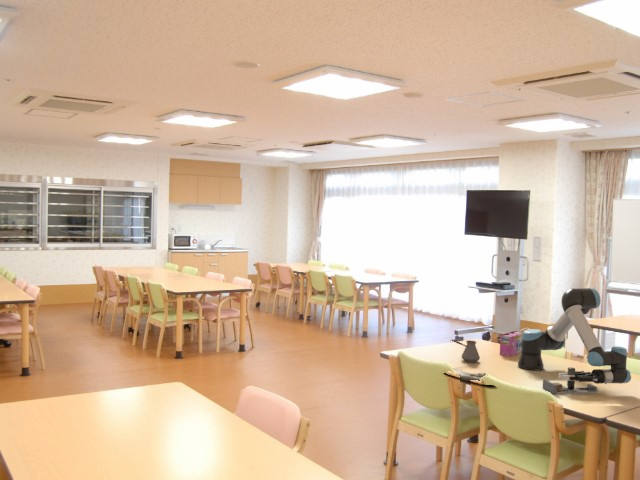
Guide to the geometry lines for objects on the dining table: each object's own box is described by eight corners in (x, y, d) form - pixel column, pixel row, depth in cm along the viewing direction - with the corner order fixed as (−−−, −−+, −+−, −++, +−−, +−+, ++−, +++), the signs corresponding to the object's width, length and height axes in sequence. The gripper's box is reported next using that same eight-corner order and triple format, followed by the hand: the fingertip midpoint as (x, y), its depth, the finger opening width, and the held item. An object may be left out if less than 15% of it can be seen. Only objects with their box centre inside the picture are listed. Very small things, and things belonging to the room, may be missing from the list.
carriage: (562, 392, 314) (563, 369, 313) (557, 389, 319) (558, 367, 318) (578, 391, 315) (579, 369, 315) (573, 389, 320) (574, 367, 320)
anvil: (553, 394, 310) (553, 385, 310) (542, 388, 321) (542, 380, 321) (556, 394, 310) (557, 385, 310) (546, 388, 321) (546, 380, 321)
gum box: (514, 349, 422) (515, 330, 421) (525, 351, 416) (526, 332, 416) (499, 354, 404) (500, 334, 404) (510, 356, 399) (511, 336, 398)
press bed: (553, 396, 310) (553, 388, 310) (542, 390, 321) (542, 382, 321) (599, 396, 314) (599, 388, 314) (586, 389, 325) (587, 382, 324)
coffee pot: (472, 358, 389) (473, 336, 389) (483, 363, 379) (484, 339, 378) (444, 360, 381) (445, 337, 381) (455, 365, 371) (456, 341, 370)
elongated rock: (450, 374, 355) (439, 377, 349) (450, 365, 355) (439, 368, 349) (500, 385, 328) (490, 388, 322) (500, 375, 328) (489, 379, 322)
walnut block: (555, 392, 314) (555, 384, 314) (551, 390, 318) (551, 382, 318) (562, 392, 314) (562, 384, 314) (558, 390, 318) (558, 382, 318)
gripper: (610, 387, 311) (569, 388, 308) (591, 378, 328) (552, 379, 324) (611, 373, 311) (570, 374, 308) (592, 365, 328) (553, 365, 324)
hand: (561, 376), depth 316 cm, fingers closed on carriage, 4 cm apart
